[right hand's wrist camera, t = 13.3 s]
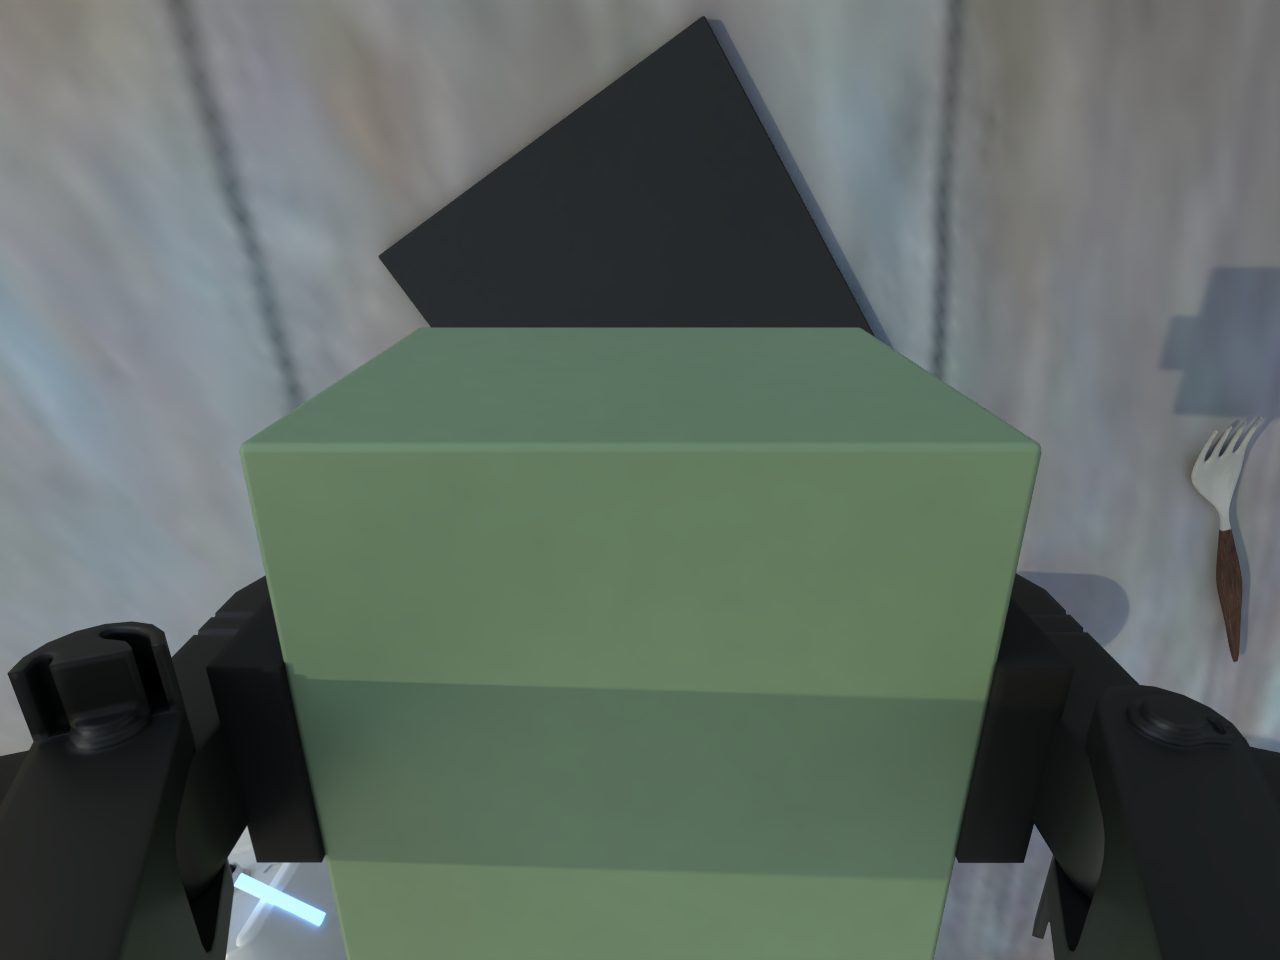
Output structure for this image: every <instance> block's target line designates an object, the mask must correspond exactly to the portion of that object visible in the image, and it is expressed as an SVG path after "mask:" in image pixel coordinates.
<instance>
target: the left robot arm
mask: <svg viewBox="0 0 1280 960" xmlns="http://www.w3.org/2000/svg"><path fill="white" fill-rule="evenodd" d="M228 861H229V864H230V868H231V871H232V876H233V883H234V895H233V904H232V912H231V920H230V928H229V936H228V944H227V952H226V960H347V955H346V951H345V946H344V941H343V937H342V932H341V927H340V923H339V918H338V913H337V908H336V904H335V899H334V894H333V890H332V885H331V880H330V876H329V871H328V866H327V861H326V857H324V859H323V861H322V863H257V861H256V858H255V854H254V850H253V846H252V842H251V839H250V835H249V831H248V827H246V828H245V830H244V832H243V833H242V835H241V837H240V838H239V840H238V842H237V843H236V845H235V847H234V848H233V850H232V851H231V853H230V855H229V856H228Z"/></svg>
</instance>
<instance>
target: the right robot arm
mask: <svg viewBox="0 0 1280 960" xmlns="http://www.w3.org/2000/svg"><path fill="white" fill-rule="evenodd" d="M215 614H216V615H215V617H211V618H210V619H209V620H208V621H207V622H206V623H205V624H204V625H203V626H202V627H201V628H200V629H199V630H198V635H193V636H192V637H191V638H190V640H189V641H188V642H187V643H186V644H185V645H184V646H183V647H182V648H181V649H180V650H179V651H178V652H177V653H176V654H175V655H174V656H173V657H172V658H171V655H170V651H169V648H168V644H167V641H166V637H165V634H164V632H163V631H162V630H160V629H159V628H157V627H156V626H154V625H153V624H146V623H139V622H122V623H111V624H104V625H100V626H96V627H92V628H88V629H84V630H80V631H76V632H73V633H71V634H68V635H66V636H63V637H61V638H58V639H56V640H53V641H51V642H49V643H46V644H45V645H43V646H41V647H40V648H38V649H37V650H35V651H33V652H32V653H30V654H28V655H27V656H25V657H23V658H22V659H21V660H20V661H19V662H18V663H17V664H16V665H15V666H14V667H13V668H12V669H11V670H10V671H9V672H8V676H9V678H10V681H11V684H12V686H13V689H14V691H15V694H16V697H17V699H18V702H19V704H20V707H21V710H22V712H23V715H24V717H25V720H26V723H27V725H28V728H29V731H30V733H31V736H32V738H33V741H34V742H33V744H32V746H31V748H30V750H29V751H24V752H19V753H14V754H9V755H5V756H0V960H226V952H227V944H228V936H229V928H230V920H231V912H232V904H233V895H234V883H233V876H232V871H231V868H230V864H229V861H228V856H229V855H230V853H231V851H232V850H233V848H234V847H235V845H236V843H237V842H238V840H239V838H240V837H241V835H242V833H243V832H244V830H245V828H246V827H248V831H249V835H250V839H251V842H252V846H253V850H254V854H255V858H256V861H257V863H322V861H323V859H324V857H325V852H324V847H323V843H322V838H321V833H320V829H319V824H318V819H317V814H316V810H315V805H314V800H313V796H312V791H311V786H310V782H309V777H308V772H307V767H306V763H305V758H304V753H303V749H302V744H301V739H300V735H299V730H298V725H297V720H296V716H295V711H294V706H293V702H292V697H291V692H290V688H289V683H288V678H287V673H286V669H285V664H284V659H283V655H282V650H281V645H280V641H279V636H278V631H277V626H276V622H275V617H274V612H273V608H272V603H271V598H270V594H269V589H268V584H267V579H266V576H264V577H262V578H260V579H259V580H257V581H255V582H253V583H252V584H250V585H248V586H246V587H245V588H243V589H241V590H239V591H237V592H236V593H235V594H234V595H233V596H232V597H231V598H230V599H229V600H228V601H227V602H226V603H225V604H224V605H223V606H222V607H221V608H220V609H219V610H218V611H217V612H216V613H215ZM1034 824H1035V825H1036V827H1037V829H1038V830H1039V832H1040V834H1041V835H1042V837H1043V838H1044V840H1045V842H1046V843H1047V845H1048V847H1049V848H1050V850H1051V851H1052V853H1053V857H1052V861H1051V864H1050V868H1049V871H1048V875H1047V878H1046V882H1045V885H1044V889H1043V893H1042V896H1041V900H1040V903H1039V907H1038V910H1037V914H1036V917H1035V922H1034V928H1033V934H1032V936H1035V937H1038V938H1041V939H1043V938H1044V934H1045V931H1046V927H1047V924H1048V922H1050V925H1051V934H1052V942H1053V950H1054V958H1055V960H1280V753H1278V752H1273V751H1268V750H1263V749H1258V748H1254V747H1250V746H1249V744H1248V742H1247V741H1246V739H1245V738H1244V737H1243V736H1242V734H1241V733H1240V732H1239V731H1238V730H1237V728H1236V727H1235V726H1234V725H1233V724H1232V723H1231V722H1230V721H1228V720H1227V719H1225V718H1224V717H1223V716H1221V715H1220V714H1218V713H1217V712H1216V711H1214V710H1213V709H1211V708H1210V707H1208V706H1206V705H1203V704H1201V703H1199V702H1197V701H1195V700H1193V699H1191V698H1189V697H1186V696H1184V695H1182V694H1178V693H1175V692H1171V691H1168V690H1165V689H1161V688H1158V687H1153V686H1144V685H1139V684H1138V683H1137V682H1136V681H1135V680H1134V679H1133V678H1132V677H1131V676H1130V675H1129V674H1128V673H1127V672H1126V671H1125V670H1124V669H1123V668H1122V667H1121V666H1120V665H1119V664H1118V663H1117V662H1116V661H1115V660H1114V659H1113V658H1112V657H1111V656H1110V655H1109V654H1108V653H1107V652H1106V651H1105V650H1104V649H1103V648H1102V647H1101V646H1100V645H1099V644H1098V643H1097V642H1096V641H1095V640H1094V639H1093V638H1092V637H1091V636H1090V635H1089V633H1088V632H1083V627H1082V626H1081V625H1080V624H1079V623H1078V622H1077V621H1076V620H1075V619H1074V618H1073V617H1072V616H1071V615H1066V610H1065V609H1064V608H1063V607H1062V606H1061V605H1060V604H1059V603H1058V602H1057V601H1056V600H1055V599H1054V598H1053V597H1052V596H1051V595H1050V594H1049V593H1048V592H1047V591H1046V590H1044V589H1043V588H1041V587H1039V586H1037V585H1036V584H1034V583H1032V582H1030V581H1029V580H1027V579H1025V578H1023V577H1021V576H1020V575H1018V574H1015V578H1014V583H1013V588H1012V592H1011V597H1010V602H1009V606H1008V611H1007V616H1006V620H1005V625H1004V630H1003V635H1002V639H1001V644H1000V649H999V653H998V658H997V662H996V667H995V672H994V676H993V681H992V686H991V690H990V695H989V700H988V704H987V709H986V714H985V718H984V723H983V728H982V733H981V737H980V742H979V747H978V751H977V756H976V761H975V765H974V770H973V775H972V779H971V784H970V789H969V794H968V798H967V803H966V808H965V812H964V817H963V822H962V826H961V831H960V836H959V840H958V845H957V850H956V855H955V856H956V858H957V860H958V862H959V863H1024V860H1025V856H1026V852H1027V848H1028V844H1029V841H1030V837H1031V833H1032V829H1033V825H1034Z"/></svg>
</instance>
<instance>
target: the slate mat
mask: <svg viewBox="0 0 1280 960" xmlns="http://www.w3.org/2000/svg"><path fill="white" fill-rule="evenodd" d="M379 258H380V260H381V261H382V262H383V264H384V265H385V266H386V268H387V269H388V270H389V272H390V273H391V274H392V276H393V277H394V278H395V280H396V281H397V282H398V284H399V285H400V286H401V288H402V289H403V290H404V292H405V293H406V294H407V296H408V297H409V298H410V300H411V301H412V302H413V304H414V305H415V306H416V308H417V309H418V310H419V312H420V313H421V314H422V316H423V317H424V318H425V320H426V321H427V322H428V324H429V325H430V326H431V328H861V329H863V330H865V331H866V332H868V333H869V334H871V335H872V336H874V334H873V332H872V331H871V329H870V327H869V325H868V323H867V321H866V319H865V317H864V316H863V314H862V312H861V310H860V308H859V306H858V304H857V302H856V300H855V299H854V297H853V295H852V293H851V291H850V289H849V287H848V285H847V284H846V282H845V280H844V278H843V276H842V274H841V272H840V270H839V268H838V267H837V265H836V263H835V261H834V259H833V257H832V255H831V253H830V252H829V250H828V248H827V246H826V244H825V242H824V240H823V238H822V236H821V235H820V233H819V231H818V229H817V227H816V225H815V223H814V221H813V219H812V218H811V216H810V214H809V212H808V210H807V208H806V206H805V204H804V203H803V201H802V199H801V197H800V195H799V193H798V191H797V189H796V187H795V186H794V184H793V182H792V180H791V178H790V176H789V174H788V172H787V171H786V169H785V167H784V165H783V163H782V161H781V159H780V157H779V155H778V154H777V152H776V150H775V148H774V146H773V144H772V142H771V140H770V139H769V137H768V135H767V133H766V131H765V129H764V127H763V125H762V123H761V122H760V120H759V118H758V116H757V114H756V112H755V110H754V108H753V106H752V105H751V103H750V101H749V99H748V97H747V95H746V93H745V91H744V90H743V88H742V86H741V84H740V82H739V80H738V78H737V76H736V74H735V73H734V71H733V69H732V67H731V65H730V63H729V61H728V59H727V58H726V56H725V54H724V52H723V50H722V48H721V46H720V44H719V42H718V41H717V39H716V37H715V35H714V33H713V31H712V29H711V27H710V26H709V24H708V22H707V20H706V18H705V17H704V16H702V17H701V18H700V19H698V20H697V21H696V22H694V23H693V24H692V25H690V26H689V27H688V28H686V29H685V30H684V31H682V32H681V33H679V34H678V35H677V36H675V37H674V38H673V39H671V40H670V41H669V42H667V43H666V44H665V45H663V46H662V47H661V48H659V49H658V50H656V51H655V52H654V53H652V54H651V55H650V56H648V57H647V58H646V59H644V60H643V61H642V62H640V63H639V64H638V65H636V66H635V67H633V68H632V69H631V70H629V71H628V72H627V73H625V74H624V75H623V76H621V77H620V78H619V79H617V80H616V81H615V82H613V83H612V84H610V85H609V86H608V87H606V88H605V89H604V90H602V91H601V92H600V93H598V94H597V95H596V96H594V97H593V98H592V99H590V100H589V101H587V102H586V103H585V104H583V105H582V106H581V107H579V108H578V109H577V110H575V111H574V112H573V113H571V114H570V115H569V116H567V117H566V118H564V119H563V120H562V121H560V122H559V123H558V124H556V125H555V126H554V127H552V128H551V129H550V130H548V131H547V132H546V133H544V134H543V135H541V136H540V137H539V138H537V139H536V140H535V141H533V142H532V143H531V144H529V145H528V146H527V147H525V148H524V149H523V150H521V151H520V152H518V153H517V154H516V155H514V156H513V157H512V158H510V159H509V160H508V161H506V162H505V163H504V164H502V165H501V166H500V167H498V168H497V169H495V170H494V171H493V172H491V173H490V174H489V175H487V176H486V177H485V178H483V179H482V180H481V181H479V182H478V183H477V184H475V185H474V186H472V187H471V188H470V189H468V190H467V191H466V192H464V193H463V194H462V195H460V196H459V197H458V198H456V199H455V200H454V201H452V202H451V203H449V204H448V205H447V206H445V207H444V208H443V209H441V210H440V211H439V212H437V213H436V214H435V215H433V216H432V217H431V218H429V219H428V220H427V221H425V222H424V223H422V224H421V225H420V226H418V227H417V228H416V229H414V230H413V231H412V232H410V233H409V234H408V235H406V236H405V237H404V238H402V239H401V240H399V241H398V242H397V243H395V244H394V245H393V246H391V247H390V248H389V249H387V250H386V251H385V252H383V253H382V254H381V255H379ZM874 337H875V336H874Z"/></svg>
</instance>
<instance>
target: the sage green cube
mask: <svg viewBox="0 0 1280 960" xmlns="http://www.w3.org/2000/svg"><path fill="white" fill-rule="evenodd" d="M1040 456H1041V447H1040V445H1039V443H1037V442H1036V441H1034V440H1033V439H1031V438H1029V437H1028V436H1026V435H1025V434H1023V433H1022V432H1020V431H1019V430H1017V429H1016V428H1014V427H1012V426H1011V425H1009V424H1008V423H1006V422H1005V421H1003V420H1002V419H1000V418H999V417H997V416H996V415H994V414H992V413H991V412H989V411H988V410H986V409H985V408H983V407H982V406H980V405H979V404H977V403H976V402H974V401H972V400H971V399H969V398H968V397H966V396H965V395H963V394H962V393H960V392H959V391H957V390H955V389H954V388H952V387H951V386H949V385H948V384H946V383H945V382H943V381H942V380H940V379H939V378H937V377H935V376H934V375H932V374H931V373H929V372H928V371H926V370H925V369H923V368H922V367H920V366H919V365H917V364H915V363H914V362H912V361H911V360H909V359H908V358H906V357H905V356H903V355H902V354H900V353H898V352H897V351H895V350H894V349H892V348H891V347H889V346H888V345H886V344H885V343H883V342H882V341H880V340H878V339H877V338H875V337H874V336H872V335H871V334H869V333H868V332H866V331H865V330H863V329H861V328H419V329H417V330H416V331H414V332H413V333H411V334H410V335H408V336H407V337H405V338H404V339H402V340H400V341H399V342H397V343H396V344H394V345H393V346H391V347H390V348H388V349H387V350H385V351H384V352H382V353H380V354H379V355H377V356H376V357H374V358H373V359H371V360H370V361H368V362H367V363H365V364H364V365H362V366H360V367H359V368H357V369H356V370H354V371H353V372H351V373H350V374H348V375H347V376H345V377H344V378H342V379H341V380H339V381H337V382H336V383H334V384H333V385H331V386H330V387H328V388H327V389H325V390H324V391H322V392H321V393H319V394H317V395H316V396H314V397H313V398H311V399H310V400H308V401H307V402H305V403H304V404H302V405H301V406H299V407H297V408H296V409H294V410H293V411H291V412H290V413H288V414H287V415H285V416H284V417H282V418H281V419H279V420H277V421H276V422H274V423H273V424H271V425H270V426H268V427H267V428H265V429H264V430H262V431H261V432H259V433H258V434H256V435H254V436H253V437H251V438H250V439H248V440H247V441H245V442H244V443H242V444H241V447H240V457H241V462H242V467H243V471H244V476H245V481H246V485H247V490H248V495H249V500H250V504H251V509H252V514H253V518H254V523H255V528H256V532H257V537H258V542H259V547H260V551H261V556H262V561H263V565H264V570H265V575H266V579H267V584H268V589H269V594H270V598H271V603H272V608H273V612H274V617H275V622H276V626H277V631H278V636H279V641H280V645H281V650H282V655H283V659H284V664H285V669H286V673H287V678H288V683H289V688H290V692H291V697H292V702H293V706H294V711H295V716H296V720H297V725H298V730H299V735H300V739H301V744H302V749H303V753H304V758H305V763H306V767H307V772H308V777H309V782H310V786H311V791H312V796H313V800H314V805H315V810H316V814H317V819H318V824H319V829H320V833H321V838H322V843H323V847H324V852H325V857H326V861H327V866H328V871H329V876H330V880H331V885H332V890H333V894H334V899H335V904H336V908H337V913H338V918H339V923H340V927H341V932H342V937H343V941H344V946H345V951H346V955H347V960H933V958H934V953H935V949H936V944H937V939H938V935H939V930H940V925H941V921H942V916H943V911H944V907H945V902H946V897H947V892H948V888H949V883H950V878H951V874H952V869H953V864H954V860H955V855H956V850H957V845H958V840H959V836H960V831H961V826H962V822H963V817H964V812H965V808H966V803H967V798H968V794H969V789H970V784H971V779H972V775H973V770H974V765H975V761H976V756H977V751H978V747H979V742H980V737H981V733H982V728H983V723H984V718H985V714H986V709H987V704H988V700H989V695H990V690H991V686H992V681H993V676H994V672H995V667H996V662H997V658H998V653H999V649H1000V644H1001V639H1002V635H1003V630H1004V625H1005V620H1006V616H1007V611H1008V606H1009V602H1010V597H1011V592H1012V588H1013V583H1014V578H1015V574H1016V569H1017V564H1018V560H1019V555H1020V550H1021V545H1022V541H1023V536H1024V531H1025V527H1026V522H1027V517H1028V513H1029V508H1030V503H1031V499H1032V494H1033V489H1034V484H1035V480H1036V475H1037V470H1038V466H1039V461H1040Z"/></svg>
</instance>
